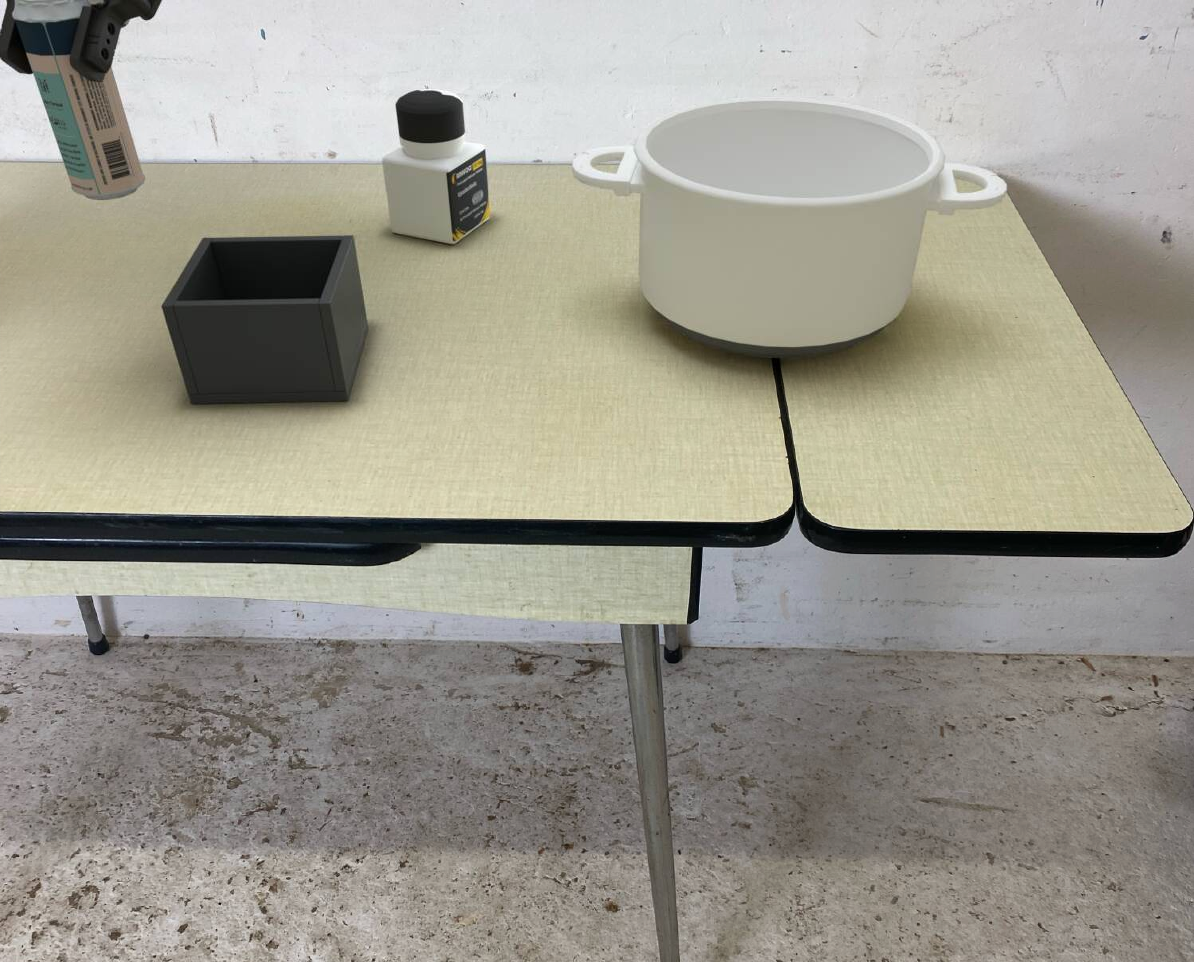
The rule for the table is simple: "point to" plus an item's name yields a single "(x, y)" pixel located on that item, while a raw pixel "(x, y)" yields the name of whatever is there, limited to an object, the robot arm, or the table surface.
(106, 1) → the robot arm
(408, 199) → the medicine bottle
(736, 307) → the pot
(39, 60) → the beer can
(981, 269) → the table surface
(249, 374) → the bin
